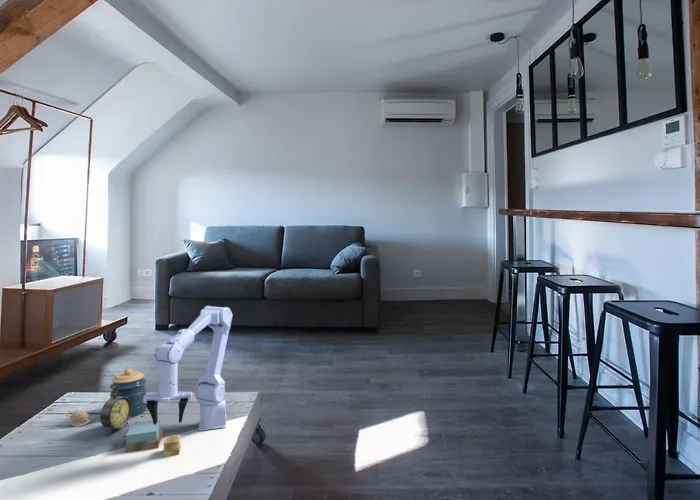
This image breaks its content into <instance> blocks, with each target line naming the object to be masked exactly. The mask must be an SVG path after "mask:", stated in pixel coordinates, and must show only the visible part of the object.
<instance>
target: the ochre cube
mask: <svg viewBox="0 0 700 500" xmlns="http://www.w3.org/2000/svg"><path fill="white" fill-rule="evenodd" d="M181 446H182V445H181V435H180V434H179V435H169V436H166V437H165V439H164V443H163V456H164V457H170V456H177V455H180V451H181Z"/></svg>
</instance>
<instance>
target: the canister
mask: <svg viewBox="0 0 700 500" xmlns="http://www.w3.org/2000/svg"><path fill="white" fill-rule="evenodd" d="M144 376H145V374H144V373H143V372H140V371H138V370H132V369H131V368H126V369H125V370H124V371H123V372H120V373H118V374H116V375H115V376H114V377H112V379H111V383H110V384H109V389H110V390H112V388H113V387H114V386H117V387H118V392H117V387H114V388H113V390H112V394H116V392H117V394H116V397H127V398H128V399H129V400H130V402H131V405H132V412H131V416H130V418H133V417H134V418H135V417H136V416H139V415H142V414H143V413H144V412H145V411H147V407H146V405H147V403H143V397H144V396H145V395H147V389H148V388H147V387H146V383H147V379H146V378H145V377H144ZM112 394H111V392H110V393H109V397H110V398H112V397H114V396H113V395H112ZM110 398H109V399H110Z"/></svg>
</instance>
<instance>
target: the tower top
mask: <svg viewBox="0 0 700 500" xmlns="http://www.w3.org/2000/svg"><path fill="white" fill-rule="evenodd" d="M160 428H161V419H158V420H157V423H156V425H154V424H153V420H148V421H140V422H132V423H131V424H130V426H129V429H128V431H127V433H126V438H125V439H126V442H127V444H133V443H140V442H146V441H153V440H157V437H158V433H159V430H160Z"/></svg>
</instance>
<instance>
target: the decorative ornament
mask: <svg viewBox="0 0 700 500" xmlns="http://www.w3.org/2000/svg"><path fill="white" fill-rule="evenodd" d="M67 413H71V415H70V414H67ZM64 415H65V417H68V418H70V422H71V423H70V425H71V426H72V427H82V426H85V425H88V424H89V423H92V422H93V420H92V419H91V418H90V414H89V413H88V412H86V411H85V410H76V411H73V410H66V411H65V412H64Z"/></svg>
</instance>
